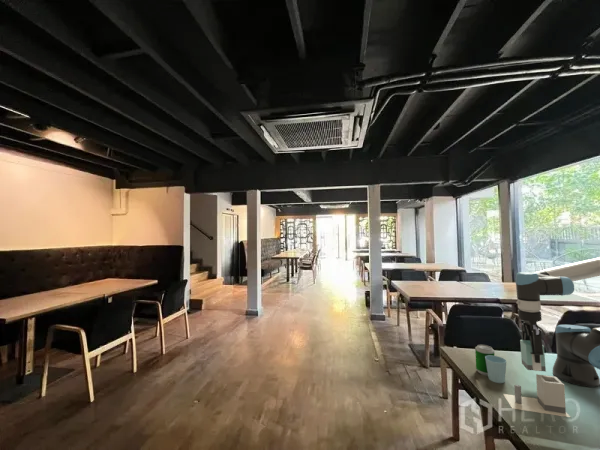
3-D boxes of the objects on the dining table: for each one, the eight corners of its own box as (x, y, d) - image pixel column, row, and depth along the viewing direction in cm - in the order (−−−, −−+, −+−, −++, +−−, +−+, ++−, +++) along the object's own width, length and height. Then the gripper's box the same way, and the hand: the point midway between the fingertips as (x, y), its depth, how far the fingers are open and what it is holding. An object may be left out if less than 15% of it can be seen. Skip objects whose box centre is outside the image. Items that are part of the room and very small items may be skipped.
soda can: (498, 377, 129) (497, 350, 130) (480, 376, 131) (479, 349, 131) (490, 369, 137) (489, 344, 137) (473, 368, 138) (472, 343, 139)
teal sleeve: (539, 364, 120) (537, 340, 120) (545, 371, 114) (543, 346, 115) (521, 363, 122) (520, 339, 122) (527, 369, 116) (525, 344, 117)
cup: (508, 389, 119) (507, 364, 120) (486, 385, 123) (485, 360, 124) (506, 381, 126) (505, 357, 126) (485, 377, 130) (484, 354, 130)
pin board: (556, 405, 108) (555, 385, 108) (571, 421, 99) (569, 399, 99) (503, 397, 114) (502, 378, 114) (512, 412, 104) (511, 391, 105)
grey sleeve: (557, 404, 106) (555, 376, 107) (565, 413, 101) (564, 384, 101) (537, 401, 108) (536, 374, 109) (544, 410, 103) (543, 382, 103)
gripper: (510, 304, 129) (514, 356, 128) (527, 315, 111) (532, 376, 110) (530, 304, 127) (534, 357, 126) (551, 316, 109) (556, 378, 108)
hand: (533, 366), depth 118 cm, fingers closed on teal sleeve, 6 cm apart
